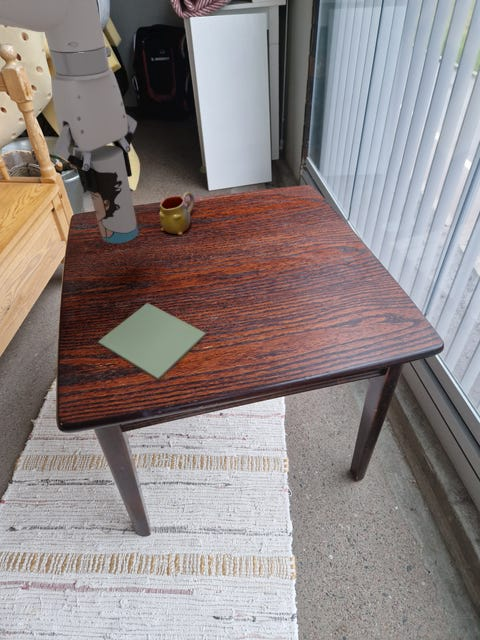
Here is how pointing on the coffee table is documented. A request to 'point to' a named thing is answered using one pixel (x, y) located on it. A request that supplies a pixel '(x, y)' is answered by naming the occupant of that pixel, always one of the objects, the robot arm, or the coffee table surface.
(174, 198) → the mug
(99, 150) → the cup
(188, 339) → the mat
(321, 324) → the coffee table surface
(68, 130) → the robot arm
